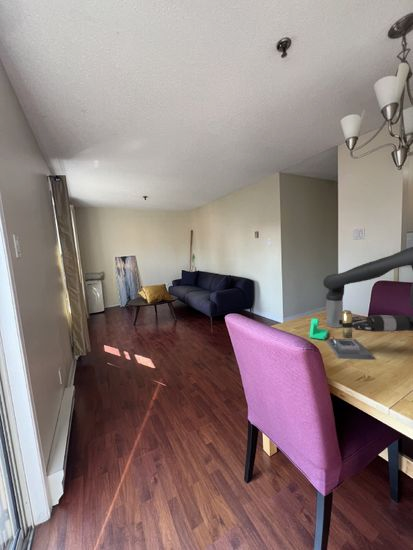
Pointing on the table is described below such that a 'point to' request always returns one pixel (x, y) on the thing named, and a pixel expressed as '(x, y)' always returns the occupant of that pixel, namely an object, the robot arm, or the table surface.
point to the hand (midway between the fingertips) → (341, 323)
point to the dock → (348, 349)
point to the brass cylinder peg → (347, 319)
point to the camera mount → (317, 330)
